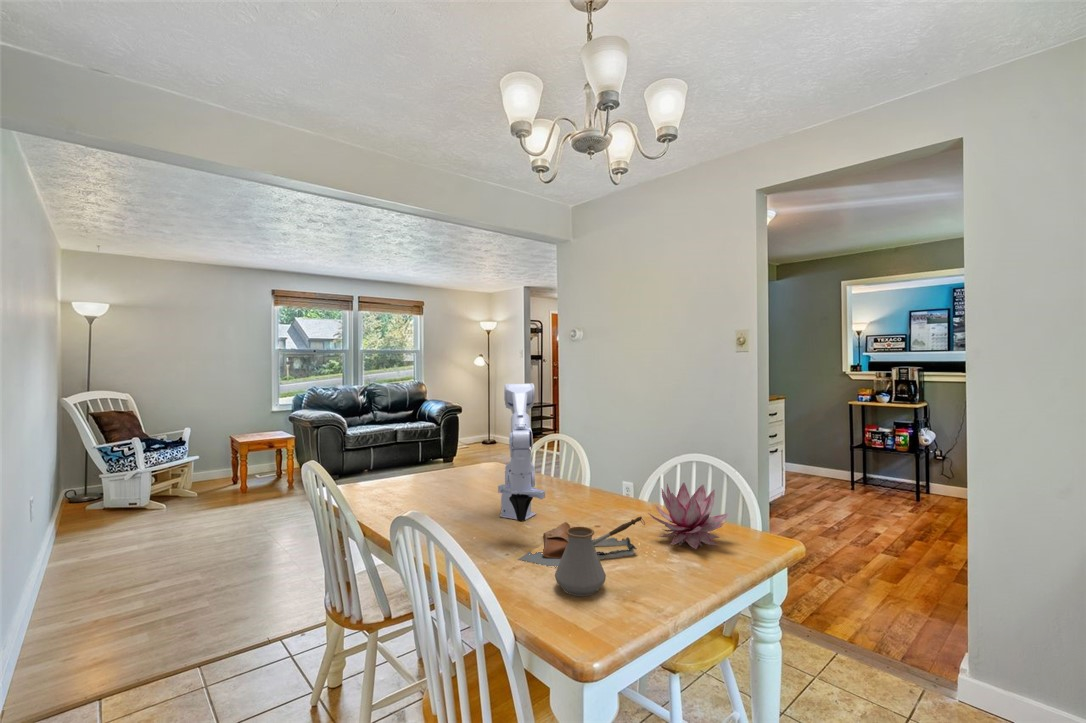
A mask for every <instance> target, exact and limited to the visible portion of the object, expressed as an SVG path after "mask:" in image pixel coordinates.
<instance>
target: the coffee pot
mask: <svg viewBox="0 0 1086 723" xmlns="http://www.w3.org/2000/svg"><path fill="white" fill-rule="evenodd" d="M637 522H641V524H642V525H643V526H645V525H646V522H645V521H644V519H643V517H642V516H638V517H636V518H635V519H631V521H628V522H625V523H623V524H621V525H619V526H618V527H616V528H614V529H612V530H611V531H609V532H608V533H606V534H604V535H602V536H599V537H598V538H596V539H595V540H594V539H592V538H593V536H594V534H595V531H594V530H593V529H592V528H590V527H585V526H572V527H570V528H569V529H567V530H566V534H567V535H568V538H569V541H568V543H567V546H566V548H565V551H564V553H563V555H562V558H561V560H560V563H559V565H558V567H557V568H556V570H555V574H554V577H555V581H556V583H557V585H559V587H560V588H562V589H563V591H564V590H565V591H566V592H565V591H564V592H565V593H567V592H568V593H567V594H569V593H570V594H569V595H571V594H572V595H571V596H576V595H577V596H576V597H587V596H591V595H594V594H595V593H597V591H598V590H600V589H601V588H602V587H603V585H604V584H605V581H606V578H607V576H606V575H607V574H606V572H605V570H604V567H603V565H602V562H601V559H599V558H598V555H597V553H596V552H597V551H596V547H594V545H595V544H597V543H599V542H601V541H602V540H604V539H608V538H611V537H612V536H614V535H616V534H619V533H621V532H623V531H625V530H627V529H628V528H630V527H631V526H632V525H636V523H637ZM591 539H592V540H594V541H591Z"/></svg>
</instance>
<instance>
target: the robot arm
mask: <svg viewBox="0 0 1086 723" xmlns="http://www.w3.org/2000/svg"><path fill="white" fill-rule="evenodd" d="M503 386H504V388H503V389H504V394H503V396H504V398H503V399H504V406H505V408H506V409H509V410H510V411H511V413H512V415H511V417H510V433H508V436H509V438H508V439H509V440H508V442H509V443H508V444H509V451H510V454H509V455H510V460H509V462H507V463H506V464H505V468H504V469H505V470H504V484H500V485H497V493H498V494H499V493H500V494H501V496H500V497H501V498H500V499H501V500H500V505H501V508H500V510H501V512H500V515H499V517H501V518H507V519H512V520H517V522H519V523H523V522H524V521H526V520H528V519H530V518H532V517H534V516H536V515H537V513H536V512H534V511H533V512H532V500H533V498H536V499H539V500H544V499H545V498H546V490H543V489H538V488H535V484H536V474H535V473H536V472H535V465H534V463H533V462H532V451H533V446H534V443H533V442H534V441H533V440H534V439H533V431H532V428H531V417H530V415H529V414H528V413H527V412H528V410H529V409H532V408H533V406H534V405H535V404H534V403H535V399H536V398H535V395H536V393H535V391H536V390H535V384H534V383H533V382H531V383H508V382H506V383H505V384H504V385H503Z"/></svg>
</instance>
